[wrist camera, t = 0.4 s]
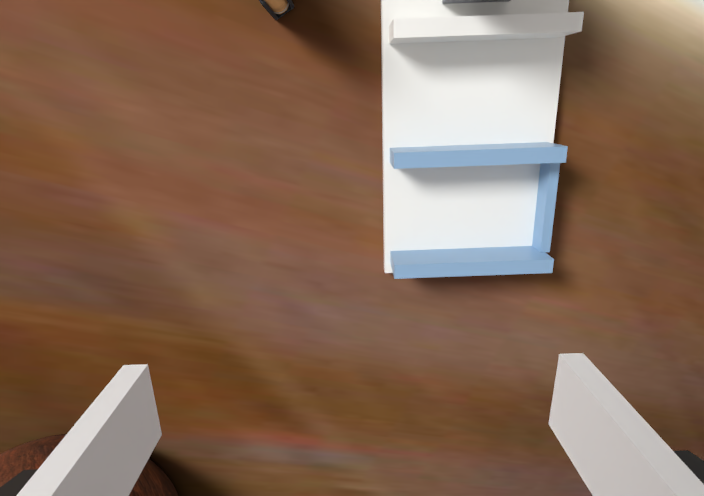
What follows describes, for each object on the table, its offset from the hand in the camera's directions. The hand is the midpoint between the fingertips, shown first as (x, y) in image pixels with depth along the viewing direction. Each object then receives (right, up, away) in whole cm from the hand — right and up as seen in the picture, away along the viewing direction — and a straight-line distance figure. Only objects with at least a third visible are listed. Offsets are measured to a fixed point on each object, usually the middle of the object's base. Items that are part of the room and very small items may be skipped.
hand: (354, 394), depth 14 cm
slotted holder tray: (+9, +17, +22) cm, 29 cm away
